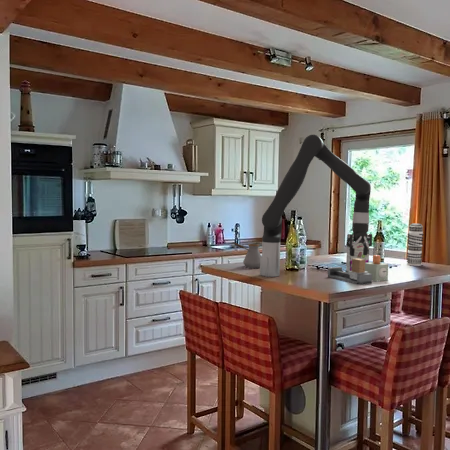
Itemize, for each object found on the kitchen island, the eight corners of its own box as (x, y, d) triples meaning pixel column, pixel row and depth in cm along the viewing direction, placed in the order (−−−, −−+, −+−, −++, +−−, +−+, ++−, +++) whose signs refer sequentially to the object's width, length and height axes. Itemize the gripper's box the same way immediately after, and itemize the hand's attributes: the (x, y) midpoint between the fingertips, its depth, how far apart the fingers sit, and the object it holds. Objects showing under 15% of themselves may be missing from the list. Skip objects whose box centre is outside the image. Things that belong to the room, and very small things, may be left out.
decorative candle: (418, 263, 293) (420, 223, 291) (424, 266, 284) (426, 224, 282) (403, 263, 293) (405, 223, 291) (409, 265, 284) (411, 224, 282)
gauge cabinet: (376, 281, 231) (377, 265, 230) (363, 278, 238) (364, 262, 238) (388, 280, 235) (389, 264, 234) (375, 277, 242) (376, 261, 241)
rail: (359, 284, 222) (359, 275, 221) (327, 276, 241) (328, 267, 241) (371, 283, 226) (372, 273, 225) (339, 275, 245) (340, 266, 245)
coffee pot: (254, 265, 275) (254, 239, 274) (267, 267, 266) (268, 241, 265) (225, 268, 262) (225, 241, 261) (238, 271, 253) (238, 243, 252)
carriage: (357, 280, 224) (357, 260, 223) (348, 278, 229) (348, 258, 228) (367, 279, 227) (368, 259, 226) (358, 277, 232) (359, 257, 232)
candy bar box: (364, 271, 261) (365, 241, 260) (368, 272, 256) (370, 242, 255) (345, 271, 259) (346, 241, 258) (349, 273, 254) (350, 242, 253)
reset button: (376, 264, 234) (376, 256, 233) (371, 263, 237) (371, 255, 236) (381, 263, 235) (381, 255, 235) (376, 262, 238) (376, 254, 238)
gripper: (365, 221, 233) (363, 253, 234) (343, 221, 226) (342, 255, 227) (377, 222, 226) (375, 256, 227) (355, 222, 219) (353, 257, 220)
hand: (358, 255), depth 227 cm, fingers open, 8 cm apart
